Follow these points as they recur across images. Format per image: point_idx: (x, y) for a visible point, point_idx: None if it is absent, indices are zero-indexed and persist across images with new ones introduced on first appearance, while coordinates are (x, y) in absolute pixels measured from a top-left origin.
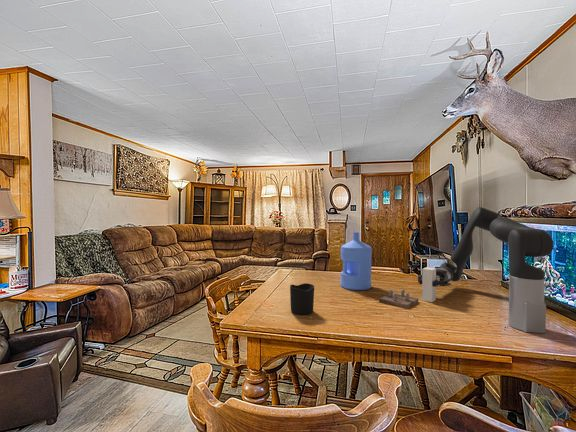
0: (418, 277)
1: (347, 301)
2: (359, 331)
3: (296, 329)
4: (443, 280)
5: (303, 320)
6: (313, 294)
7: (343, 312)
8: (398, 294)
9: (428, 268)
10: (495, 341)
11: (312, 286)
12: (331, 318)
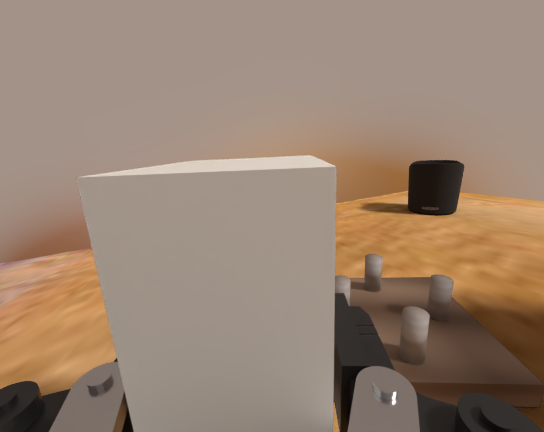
0: (487, 406)
1: (477, 254)
2: None
3: (363, 199)
4: (2, 397)
5: (387, 204)
6: (416, 177)
7: (389, 226)
8: (477, 381)
9: (249, 161)
10: (90, 256)
11: (432, 165)
12: (372, 214)
